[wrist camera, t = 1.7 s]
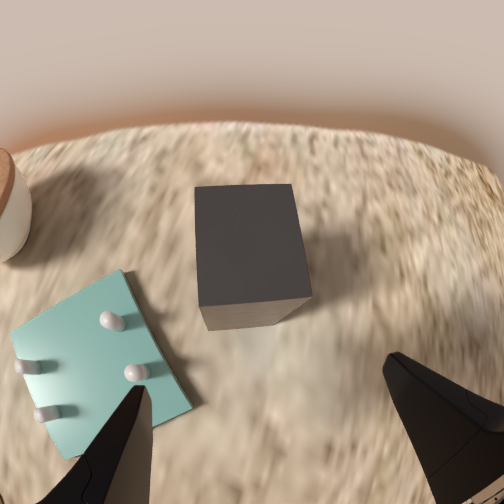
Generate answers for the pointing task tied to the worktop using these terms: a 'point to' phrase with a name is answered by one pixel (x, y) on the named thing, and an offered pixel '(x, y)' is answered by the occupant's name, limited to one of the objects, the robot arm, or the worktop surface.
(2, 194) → the lidded jar
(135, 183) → the worktop surface
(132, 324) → the pin tray
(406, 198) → the worktop surface
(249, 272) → the plate
